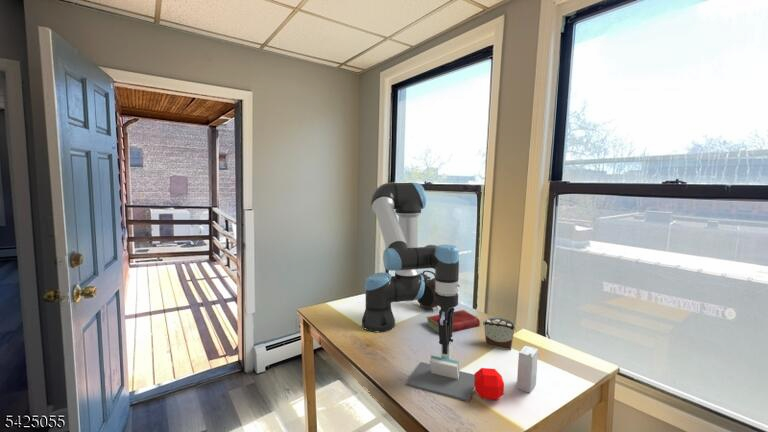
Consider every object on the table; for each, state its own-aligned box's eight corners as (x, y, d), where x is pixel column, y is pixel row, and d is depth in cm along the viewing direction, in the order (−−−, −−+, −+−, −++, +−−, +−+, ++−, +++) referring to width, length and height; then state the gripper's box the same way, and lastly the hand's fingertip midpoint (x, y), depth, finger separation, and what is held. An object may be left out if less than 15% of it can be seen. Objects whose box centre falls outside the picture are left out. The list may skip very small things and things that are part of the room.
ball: (499, 388, 103) (500, 365, 103) (504, 405, 96) (505, 380, 95) (473, 386, 105) (473, 363, 104) (476, 403, 97) (477, 378, 96)
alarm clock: (413, 307, 173) (413, 269, 171) (422, 303, 178) (423, 267, 176) (434, 315, 162) (435, 275, 160) (444, 311, 167) (444, 272, 165)
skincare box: (522, 379, 108) (523, 344, 107) (537, 385, 105) (538, 348, 104) (516, 388, 104) (517, 351, 102) (531, 394, 101) (532, 356, 100)
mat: (406, 384, 106) (406, 383, 106) (420, 363, 118) (420, 361, 118) (469, 402, 97) (469, 400, 97) (477, 377, 110) (477, 375, 110)
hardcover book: (480, 327, 149) (480, 318, 149) (441, 336, 140) (441, 326, 140) (463, 317, 160) (463, 309, 160) (426, 325, 151) (426, 316, 151)
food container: (516, 343, 133) (516, 319, 132) (515, 350, 127) (516, 325, 126) (484, 337, 138) (484, 314, 137) (482, 344, 132) (482, 320, 131)
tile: (431, 372, 111) (429, 360, 109) (433, 367, 113) (431, 355, 110) (458, 379, 107) (456, 366, 105) (459, 373, 109) (458, 361, 107)
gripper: (453, 300, 101) (452, 374, 103) (462, 288, 112) (461, 354, 114) (429, 297, 104) (429, 368, 106) (440, 285, 115) (439, 350, 118)
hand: (445, 361), depth 110 cm, fingers closed
